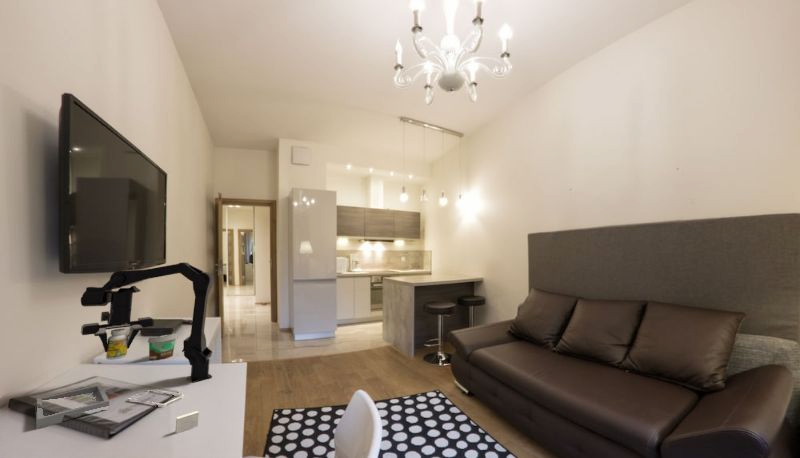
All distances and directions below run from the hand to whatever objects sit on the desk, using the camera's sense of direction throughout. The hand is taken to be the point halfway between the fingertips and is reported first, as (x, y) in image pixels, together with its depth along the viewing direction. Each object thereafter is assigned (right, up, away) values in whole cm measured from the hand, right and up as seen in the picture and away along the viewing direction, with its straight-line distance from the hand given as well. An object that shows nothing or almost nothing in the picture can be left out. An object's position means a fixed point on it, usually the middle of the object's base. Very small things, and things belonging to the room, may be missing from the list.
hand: (117, 350), depth 109 cm
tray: (+2, -11, -17) cm, 20 cm away
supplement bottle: (0, -3, 0) cm, 3 cm away
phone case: (+22, -13, -10) cm, 27 cm away
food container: (-6, -15, +30) cm, 34 cm away
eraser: (+43, -11, -26) cm, 52 cm away
